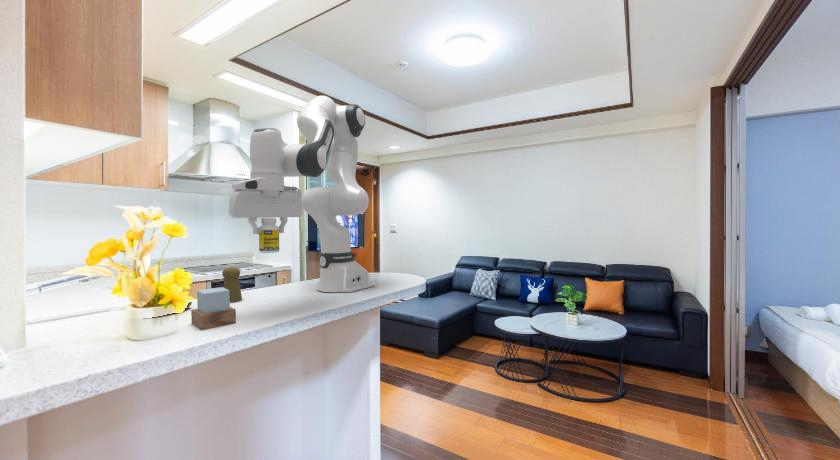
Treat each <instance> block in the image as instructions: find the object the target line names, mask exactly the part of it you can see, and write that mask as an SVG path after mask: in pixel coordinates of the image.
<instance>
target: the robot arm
mask: <svg viewBox="0 0 840 460" xmlns="http://www.w3.org/2000/svg"><path fill="white" fill-rule="evenodd" d="M296 124H297V128H298V129H299V132H300V133H301V134H302V135H303V136H304V137H305V138H306V139H308V140H309V141H312V142H309V143H308V142H307V143H300V144H298V143H297V144H288V143H286V142H285V141H284V140H283V137H282V133H281V130H280V129H278V128H272V127H269V128H257V129H254V130H253V131H252V132H251V135H250V142H249V159H250V163H251V170H250V177H249V178H246V179H243V180H239V181H235V182H233V183H232V184H231V189H232V190H233V191H232V192H231V194H230V196H229V200H228V201H229V202H228V214H229V216H230V217H231V218H233V219H237V218H238V219H241V218H244V219H245V218H248V219H247V220H248V224H249V225H250V226H251V228H252V234H253V235H259V234H261V228H259V227H258V226H257V223H256V222H257V221H258V220H257V219H258V218H279V222H280V223H279V226H278V227H279V234H284V233H285V226H286V225H287V223H288V222H289V221H288V218H301V217H302V216H303V214H304V212H305V213H306V214H308V215H309V216H311V218H312V219H313V221H314V222H315V223H316V225H317V228H318V231H319V238H320V253H319V265H320V266H319V267H320V271H319V281H318V285H317V287H316V291H318V292H324V293H353V292H356V291H360V290H364V289H368V288H372V287H375V286H376V283H375V282H374V281H370V276H369V272H368V270H367V269H366V268H364V267H363V266H362V265H361V264H360V263H358V262H357V261H356V259H355V258H357V259H358V258H359V252H356V251H354V252H352V249H351V246H352V245H351V232H350V230H349V229H348V228H347V227H346V226H344V225H342V224H340V222H338V219H337V216H356V215H360V214H364V213H365V212H366V211H367V209H368V208H369V204H370V198H369V194H368V192H367V191H366V190H365V189H364V188H363V187H362V186H360V184H358V181H357V177H356V175H357V174H356V172H357V164H358V159H359V144H358V140H357V138H358V137H360V136H361V134H362V131H363V130H364V128H365V125H366V115H365V113H364V110H363V109H362V107H361V106H359V104H353V103H352V104H351V103H349V104H347V105H338V106H337V105H336V103H335V102H334V100H333V99H332V98H331V97H329V96H326V95H318V96H316V97H314V98H313V99H311V100H309V102H308V103H306V104H305V106H304V107H303V108H302V109H301V110H300V112H299V113H298V116H297V119H296ZM333 140H334V141H333ZM332 143H333V144H332ZM329 152H330V153H329ZM328 157H329V158H328ZM325 170H326V175H327V176H328V179H330V181H332V182H333V183H335V184H336V185H335V186H315V187H312V188H308V189H306V190H304V192H303V194H302V191H301V189H299V188H298V187H297V186H287V185H285V177H286V178H287V177H289V178H290V177H291V178H293V177H295V178H296V177H306V178H307V177H308V178H309V177H311V178H317V177H320V176H321V175H322V174H323V173H324V172H325Z"/></svg>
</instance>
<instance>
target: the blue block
mask: <svg viewBox="0 0 840 460" xmlns="http://www.w3.org/2000/svg"><path fill="white" fill-rule="evenodd" d="M196 295H197V297H196V298H197V299H196V300H197V302H196V303H197V309H198V310H199V311H201V312H202V313H203V314H206V313H211V312H217V311H223V310H229V309H230V307H231V306H230V305H231V303H230V295H229V290H228V289H225V288H223V286H221V287H214V288H213V287H211V288H204V289H197V290H196Z"/></svg>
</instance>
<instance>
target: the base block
mask: <svg viewBox="0 0 840 460" xmlns="http://www.w3.org/2000/svg"><path fill="white" fill-rule="evenodd" d="M190 312H191V324H192V325H193V326H194V327H196V328H197V329H199V330H200V331H203V330H204V331H205V330H208V329H213V328H219V327H223V326H228V325H233V324H236V323H237V315H236V314H237V313H236V312H237V311H236V308H234V307H232V306H230V309H229V310H223V311H217V312H211V313H206V314H203V313H202V312H201V311H199V310H198V308H193V309H191V311H190Z"/></svg>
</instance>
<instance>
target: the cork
mask: <svg viewBox="0 0 840 460" xmlns="http://www.w3.org/2000/svg"><path fill="white" fill-rule="evenodd" d="M221 274H222V277H223V278H224V279H223V286H222V287H223V288H225V289H228V290H229V295H230V304H233V303H239V302H241V301H243V296H242V290H241V285H240V279H239V277H240V275H241V269H239V268H238V267H226V268H224V269H223V270H222V273H221Z"/></svg>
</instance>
